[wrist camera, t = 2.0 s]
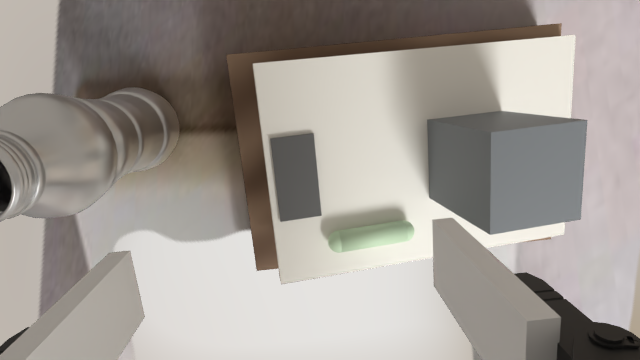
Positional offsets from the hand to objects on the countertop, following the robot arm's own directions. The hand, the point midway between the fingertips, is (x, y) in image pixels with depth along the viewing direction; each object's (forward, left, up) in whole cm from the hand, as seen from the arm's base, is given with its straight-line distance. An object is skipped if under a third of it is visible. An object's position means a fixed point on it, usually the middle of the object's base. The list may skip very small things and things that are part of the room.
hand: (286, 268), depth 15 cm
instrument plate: (0, -10, -17) cm, 20 cm away
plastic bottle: (+4, +12, -22) cm, 26 cm away
